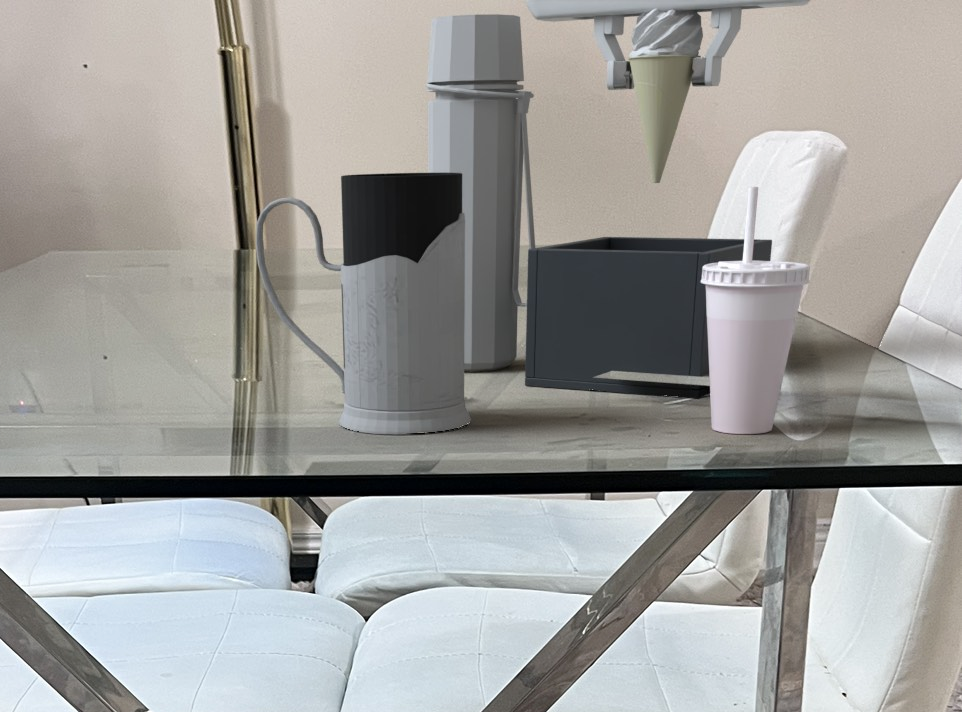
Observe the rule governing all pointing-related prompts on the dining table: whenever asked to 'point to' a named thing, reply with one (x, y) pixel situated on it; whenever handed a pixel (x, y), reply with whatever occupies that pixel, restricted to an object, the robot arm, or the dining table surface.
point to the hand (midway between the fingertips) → (661, 88)
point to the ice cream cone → (663, 76)
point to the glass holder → (396, 300)
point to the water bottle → (484, 168)
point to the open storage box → (623, 311)
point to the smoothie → (749, 333)
